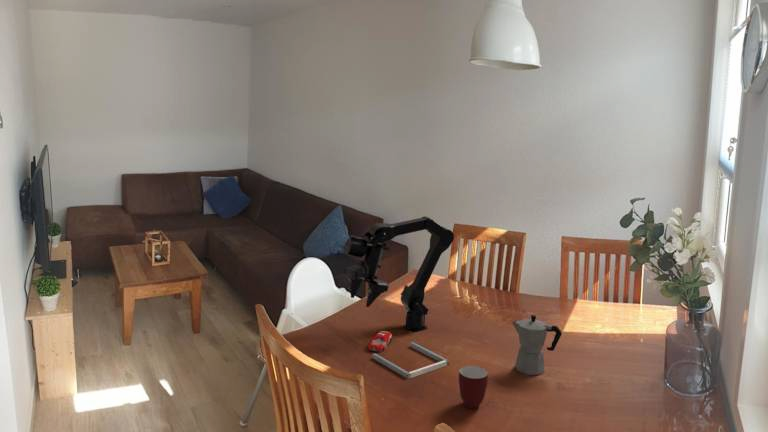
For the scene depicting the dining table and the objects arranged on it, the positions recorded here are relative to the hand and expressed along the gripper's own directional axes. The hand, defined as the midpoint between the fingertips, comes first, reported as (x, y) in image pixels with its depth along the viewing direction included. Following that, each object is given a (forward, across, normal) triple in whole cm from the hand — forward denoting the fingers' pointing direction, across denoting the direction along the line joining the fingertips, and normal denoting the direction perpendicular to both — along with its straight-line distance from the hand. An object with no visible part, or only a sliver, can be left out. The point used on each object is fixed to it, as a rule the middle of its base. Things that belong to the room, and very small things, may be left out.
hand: (359, 302), depth 222 cm
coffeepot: (+1, +54, +31) cm, 62 cm away
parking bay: (+10, +28, +4) cm, 30 cm away
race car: (+12, +12, +4) cm, 17 cm away
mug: (+9, +58, +1) cm, 59 cm away
